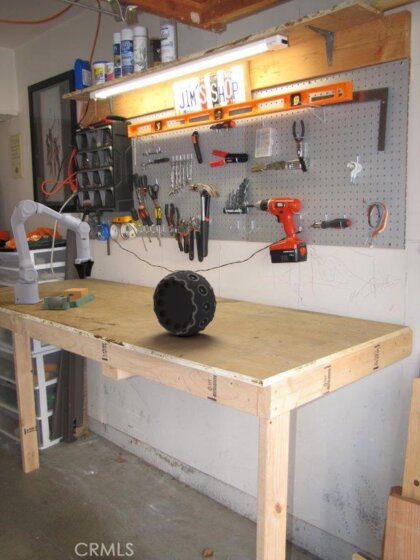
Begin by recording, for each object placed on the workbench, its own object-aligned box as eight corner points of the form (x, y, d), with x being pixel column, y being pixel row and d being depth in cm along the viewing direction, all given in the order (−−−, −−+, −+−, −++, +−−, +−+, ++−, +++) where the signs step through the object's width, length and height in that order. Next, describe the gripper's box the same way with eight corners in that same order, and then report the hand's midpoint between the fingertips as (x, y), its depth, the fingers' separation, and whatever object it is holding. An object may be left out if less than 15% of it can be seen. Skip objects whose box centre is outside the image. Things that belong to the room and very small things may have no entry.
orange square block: (64, 302, 220) (63, 291, 219) (71, 299, 228) (70, 288, 227) (81, 302, 219) (81, 291, 219) (88, 299, 227) (87, 288, 226)
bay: (39, 309, 205) (38, 294, 204) (66, 298, 229) (65, 284, 228) (72, 309, 203) (71, 294, 202) (95, 298, 226) (94, 284, 225)
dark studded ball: (173, 326, 169) (171, 267, 166) (221, 335, 157) (219, 270, 154) (150, 333, 161) (147, 271, 158) (198, 343, 149) (196, 275, 146)
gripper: (85, 249, 223) (87, 280, 225) (97, 246, 238) (99, 275, 240) (70, 249, 225) (72, 280, 227) (83, 246, 239) (85, 275, 241)
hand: (85, 277), depth 233 cm, fingers open, 6 cm apart
